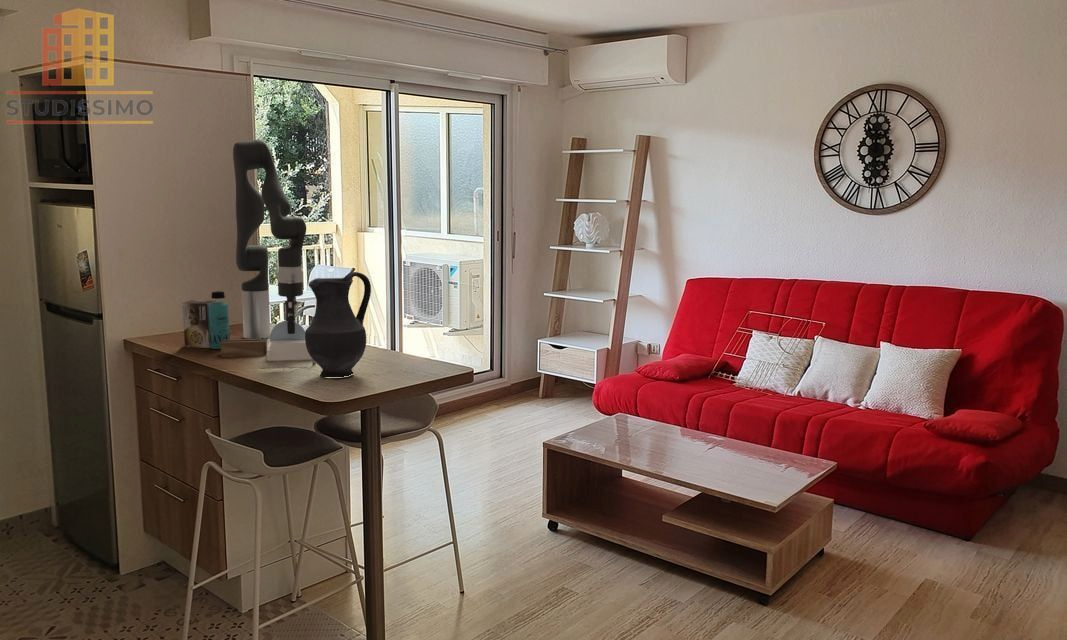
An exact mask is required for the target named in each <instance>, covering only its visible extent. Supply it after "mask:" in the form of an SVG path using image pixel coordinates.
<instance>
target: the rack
mask: <svg viewBox="0 0 1067 640" xmlns="http://www.w3.org/2000/svg"><path fill="white" fill-rule="evenodd" d="M266 359H267V360H266V362H274V361H275V362H277V361H305V360H307V361H308V360H312V364H317V363H316V362H315V361H314V360H313V359H312V358H311V356H310V355H309V353H308V351H307V348H306V343H305V340H282V341H271V342H270V341H269V344H268V345H267V355H266Z"/></svg>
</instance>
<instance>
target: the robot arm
mask: <svg viewBox="0 0 1067 640" xmlns="http://www.w3.org/2000/svg"><path fill="white" fill-rule="evenodd" d="M232 158H233V159H232V160H233V161H232V162H233V168H234V177H235V215H236V216H235V219H236V220H235V221H236V249H235V263H236V267H237V269H238V270H239V271H241V272H258V273H257V275H256V276H254V277H252V278H250V279H247V280H245V281H243V282H242V283H241V302H242V329H243V339H262V338H263V339H268V338H270V334H271V316H270V315H271V314H270V313H271V311H270V290H269V289H270V287H269V286H270V285H269V250H268V248H267V246H266V245H263V244H258V245H257V244H253V245H252V244H249V245H248V243H249V240H250V239H251V237H253V235H254V233H255V232H257V230H258V229H259V227H261V225H262V223H263V221H264V220H265V208H266V211H267V212H268V217H269V224H270V233H271V234H272V236H273V237H274V238H275V239H278V240H282V241H283V240H290V242H289V244H288V245H286V246H282V247H279V249H278V251H277V265H278V266H277V290H278V291H277V292H278V293H277V295H278V296H279V297H285V298H286V300H284V302H283V305H284V315H285V316H286V317H285V321H287V329H288V334H294V333H295V322H297V319H296V318H297V315H298V306H299V304H298V303H299V302H298V300H297V297H302V296H303V294H304V282H303V281H304V279H303V278H304V277H303V268H302V251H303V246H304V243H305V238H306V234H307V225H306V222H305V220H304V218H302V217H301V216H289V215H290V214H291V210H292V207H291V204H290V202H289V199H288V198H287V196H286V194H285V192H284V190H283V187H282V184H281V181H280V178H279V175H278V171H277V168H276V165H275V161H274V159H273V154H272V152H271V149H270V147H269V145H268V144H267V142H266V141H265V140H263V139H253V140H243V141H237V142H236V143H234V145H233V148H232ZM258 169H260V170H261V169H264V172H265V174H264V175H265V176H264V180H263V183H262V186H261V190H260V191H261V192H259V190H258V189H257V188H256V187H255V186H254V185H253V183H252V182H251V181H250V179H249V177H248V171H251V170H258Z"/></svg>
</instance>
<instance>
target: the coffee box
mask: <svg viewBox="0 0 1067 640" xmlns="http://www.w3.org/2000/svg"><path fill="white" fill-rule="evenodd" d="M214 301H215V300H200V299H199V300H197V299H194V300H193V299H191V300H186V301H184V302H182V303H181V305H182V306H181V308H182V322H183V335H184V337H183V338H184V347H185V348H209V349H211V348H210V346H209V345H210V344H209V342H210V339H209V325H208V324H209V307H208V305H209V304H210V303H211V302H214Z"/></svg>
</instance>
